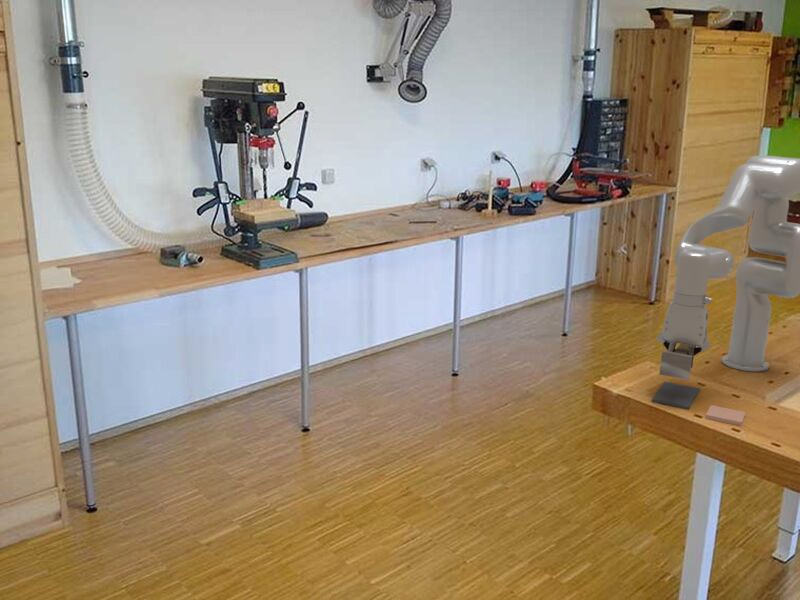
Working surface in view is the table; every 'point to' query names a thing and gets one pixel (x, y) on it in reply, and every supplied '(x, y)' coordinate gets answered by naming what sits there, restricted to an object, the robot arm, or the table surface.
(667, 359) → the scraper
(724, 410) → the tile
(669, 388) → the mat
